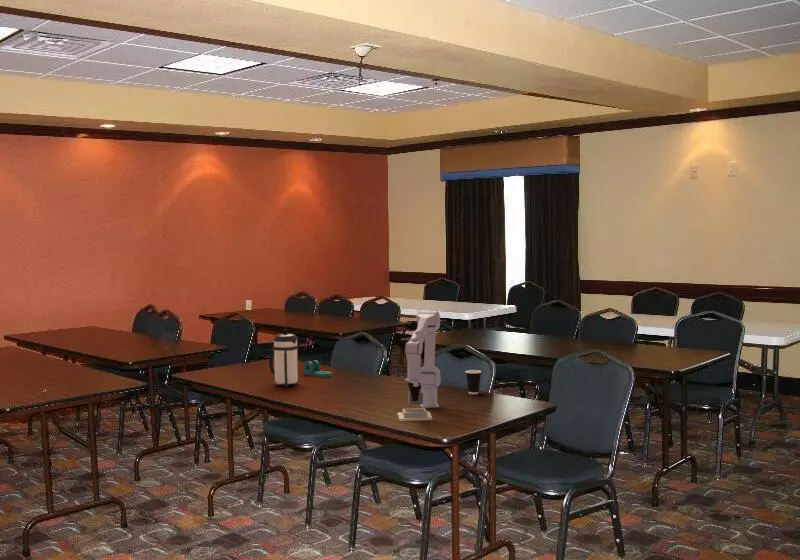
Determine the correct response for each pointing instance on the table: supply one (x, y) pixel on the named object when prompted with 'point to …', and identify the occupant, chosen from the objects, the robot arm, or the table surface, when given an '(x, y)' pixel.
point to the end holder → (414, 414)
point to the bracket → (315, 369)
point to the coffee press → (284, 358)
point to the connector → (411, 402)
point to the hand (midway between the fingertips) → (414, 399)
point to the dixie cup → (473, 381)
